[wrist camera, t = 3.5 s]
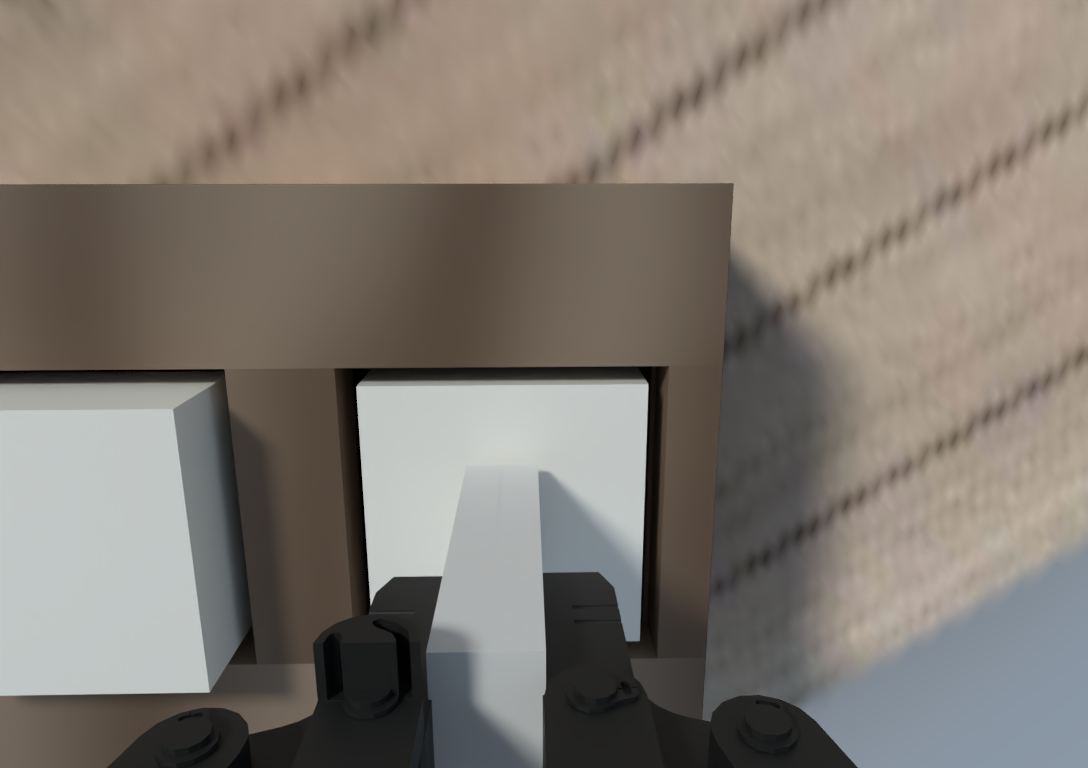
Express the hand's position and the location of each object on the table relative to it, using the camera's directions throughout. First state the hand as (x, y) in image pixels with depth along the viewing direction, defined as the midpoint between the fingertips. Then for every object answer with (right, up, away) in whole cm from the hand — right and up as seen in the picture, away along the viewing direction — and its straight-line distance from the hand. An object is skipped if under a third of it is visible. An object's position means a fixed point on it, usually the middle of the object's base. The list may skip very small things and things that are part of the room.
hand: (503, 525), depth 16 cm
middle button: (-9, 0, +1) cm, 9 cm away
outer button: (0, +1, +3) cm, 3 cm away
